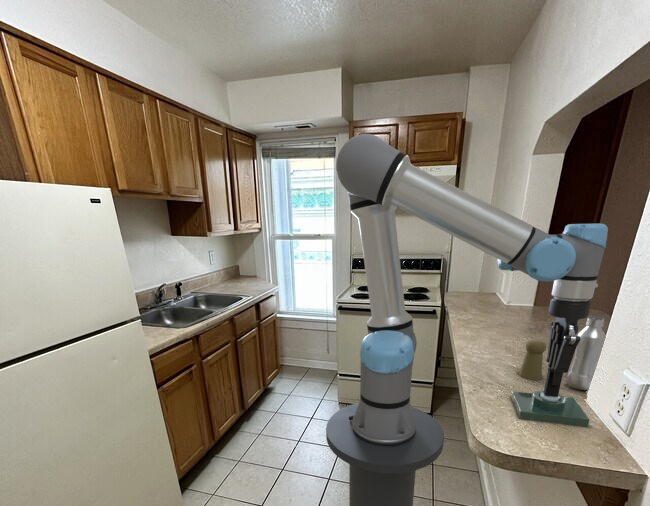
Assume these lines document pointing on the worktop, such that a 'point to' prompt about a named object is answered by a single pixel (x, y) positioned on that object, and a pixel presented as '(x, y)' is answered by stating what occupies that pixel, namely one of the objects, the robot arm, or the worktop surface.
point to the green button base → (549, 409)
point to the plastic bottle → (587, 354)
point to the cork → (533, 360)
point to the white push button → (549, 397)
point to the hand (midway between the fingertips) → (550, 394)
